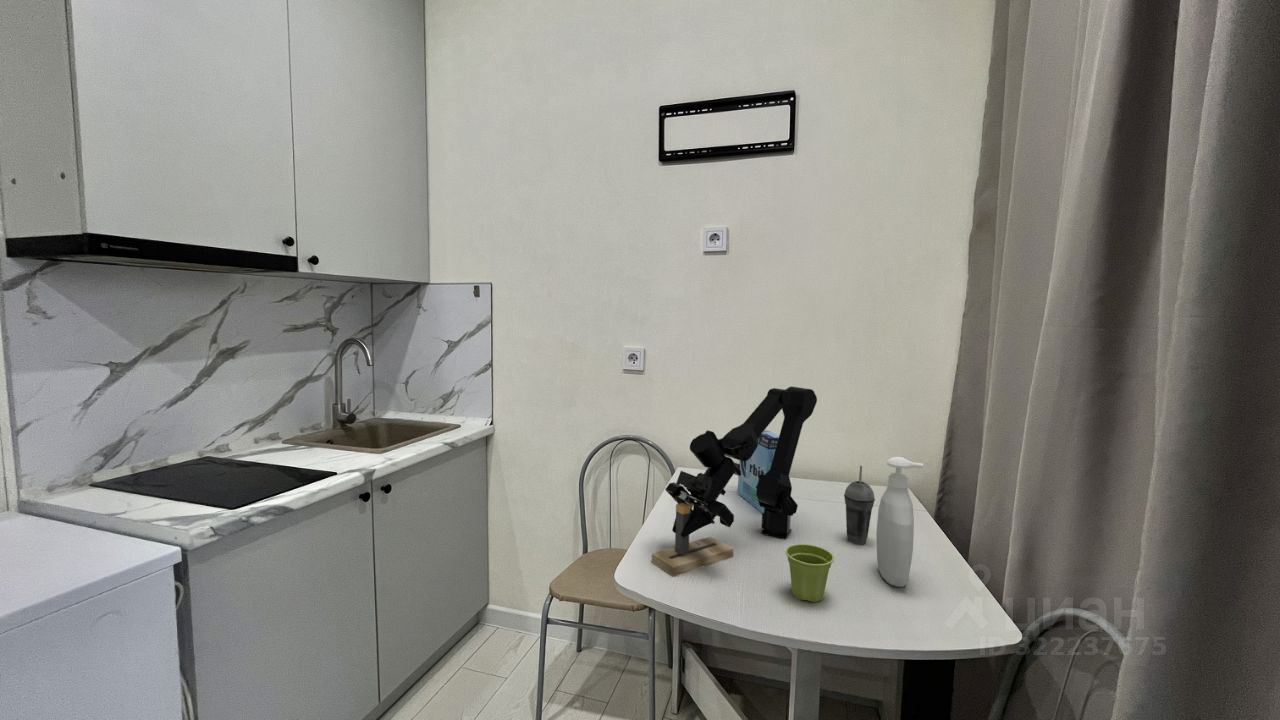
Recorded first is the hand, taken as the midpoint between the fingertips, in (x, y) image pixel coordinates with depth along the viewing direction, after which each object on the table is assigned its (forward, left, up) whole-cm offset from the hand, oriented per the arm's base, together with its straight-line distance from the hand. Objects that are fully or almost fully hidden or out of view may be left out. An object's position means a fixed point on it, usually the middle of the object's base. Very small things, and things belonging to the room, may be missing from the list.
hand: (677, 534), depth 117 cm
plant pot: (-28, -3, -7) cm, 29 cm away
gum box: (-3, -50, -7) cm, 50 cm away
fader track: (-2, -4, -7) cm, 9 cm away
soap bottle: (-43, -21, -7) cm, 49 cm away
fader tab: (-1, -1, -5) cm, 5 cm away
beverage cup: (-33, -37, -7) cm, 50 cm away
